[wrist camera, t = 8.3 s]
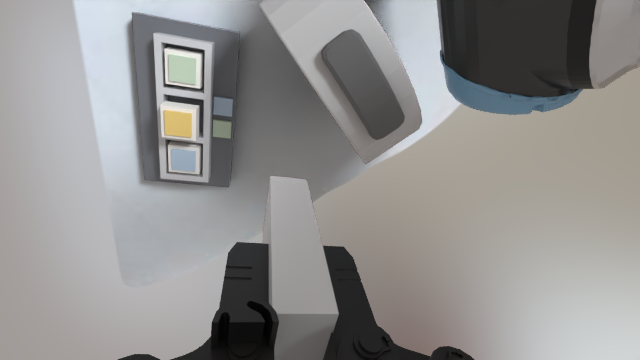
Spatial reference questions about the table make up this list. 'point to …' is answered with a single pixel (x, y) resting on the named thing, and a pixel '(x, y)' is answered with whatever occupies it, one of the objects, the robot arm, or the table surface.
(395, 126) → the alarm clock
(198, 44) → the keypad
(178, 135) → the key ochre
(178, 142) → the key blue
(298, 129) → the table surface
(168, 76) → the key sage
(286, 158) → the table surface
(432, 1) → the table surface
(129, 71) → the table surface
